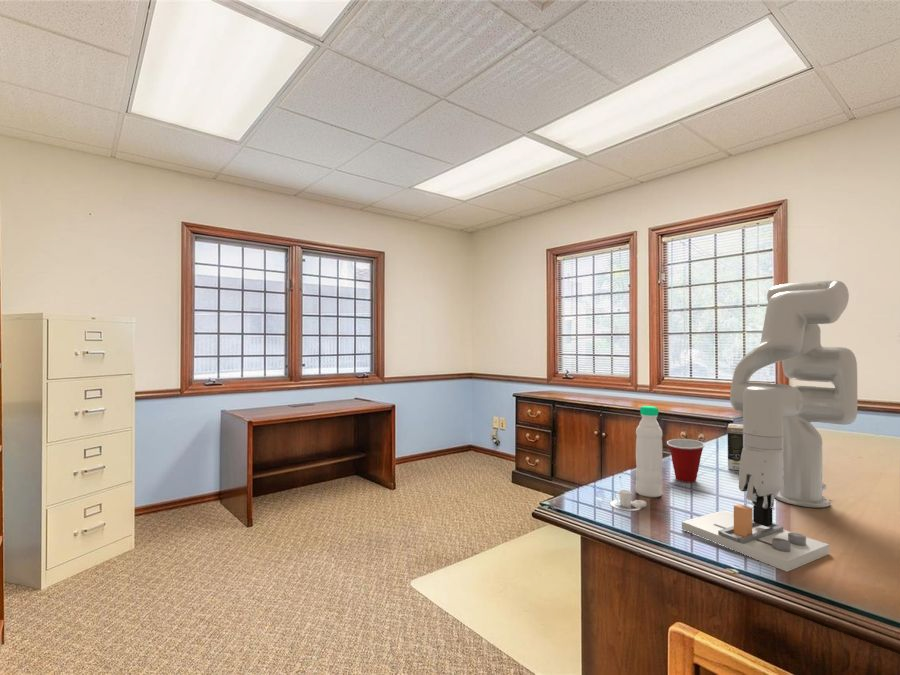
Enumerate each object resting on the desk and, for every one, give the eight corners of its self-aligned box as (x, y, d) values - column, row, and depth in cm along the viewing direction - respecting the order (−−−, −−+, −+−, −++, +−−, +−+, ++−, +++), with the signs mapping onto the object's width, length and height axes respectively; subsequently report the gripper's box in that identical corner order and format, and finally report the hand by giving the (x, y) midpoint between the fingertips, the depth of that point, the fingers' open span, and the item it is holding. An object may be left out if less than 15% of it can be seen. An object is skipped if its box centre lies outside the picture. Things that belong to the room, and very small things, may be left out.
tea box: (779, 469, 161) (779, 426, 161) (780, 476, 152) (780, 431, 152) (728, 463, 169) (728, 422, 169) (727, 469, 160) (727, 426, 161)
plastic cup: (659, 477, 150) (659, 440, 150) (680, 473, 155) (680, 437, 156) (690, 487, 141) (691, 447, 141) (712, 482, 146) (712, 443, 146)
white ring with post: (649, 507, 124) (649, 492, 124) (638, 515, 119) (638, 499, 119) (616, 499, 130) (616, 485, 130) (604, 507, 124) (604, 491, 124)
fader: (739, 531, 103) (739, 503, 103) (752, 536, 100) (752, 508, 100) (733, 533, 102) (733, 505, 102) (746, 537, 99) (747, 509, 99)
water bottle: (665, 499, 130) (665, 408, 130) (638, 497, 131) (638, 407, 131) (659, 491, 137) (659, 405, 137) (633, 489, 138) (633, 404, 138)
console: (723, 518, 116) (723, 504, 116) (828, 554, 97) (828, 537, 97) (681, 530, 108) (681, 515, 109) (787, 571, 89) (787, 553, 89)
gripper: (763, 435, 112) (763, 512, 112) (726, 442, 105) (726, 524, 105) (799, 441, 105) (799, 523, 105) (761, 449, 98) (761, 537, 98)
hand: (762, 523), depth 105 cm, fingers closed
